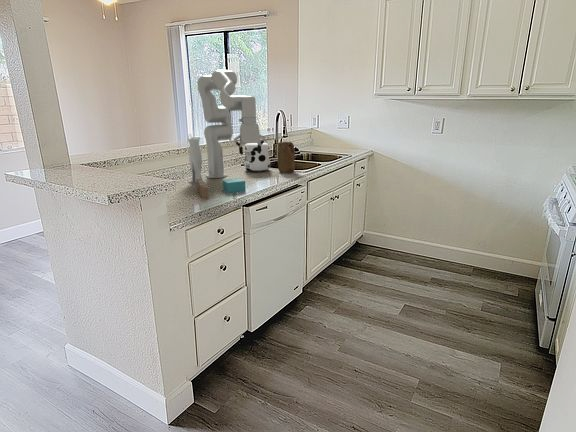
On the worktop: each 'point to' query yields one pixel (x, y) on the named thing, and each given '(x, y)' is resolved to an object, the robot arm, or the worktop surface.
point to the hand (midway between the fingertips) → (250, 153)
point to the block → (286, 157)
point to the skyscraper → (195, 159)
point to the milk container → (256, 157)
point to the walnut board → (202, 188)
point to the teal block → (234, 185)
